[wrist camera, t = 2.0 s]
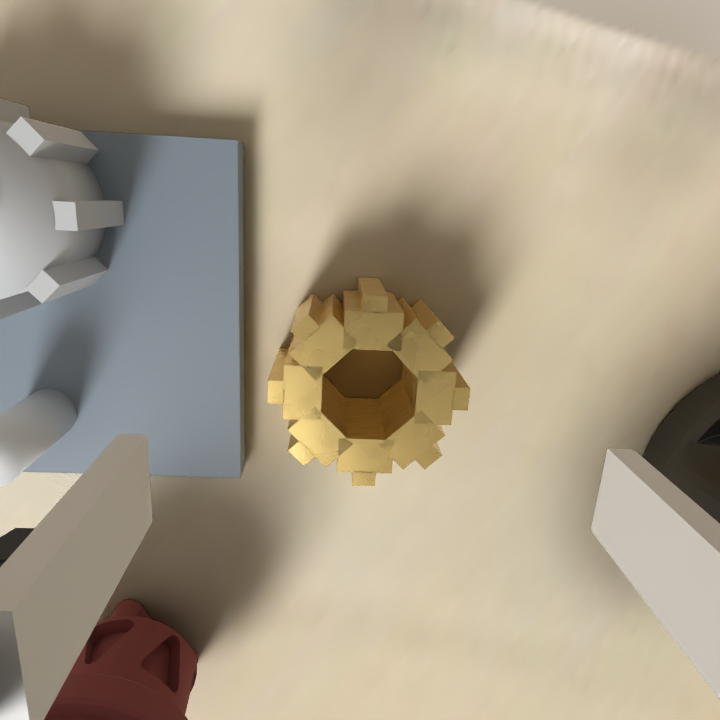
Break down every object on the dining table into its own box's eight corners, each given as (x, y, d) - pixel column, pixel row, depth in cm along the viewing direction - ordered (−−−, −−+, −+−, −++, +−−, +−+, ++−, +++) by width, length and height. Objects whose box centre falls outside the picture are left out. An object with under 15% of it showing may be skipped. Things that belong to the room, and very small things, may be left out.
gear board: (243, 124, 24) (207, 96, 18) (245, 464, 29) (218, 544, 22) (-133, 100, 23) (-321, 61, 17) (-67, 454, 28) (-192, 535, 22)
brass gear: (454, 282, 27) (480, 300, 22) (438, 440, 29) (458, 488, 24) (280, 273, 26) (268, 290, 21) (278, 434, 29) (267, 482, 24)
